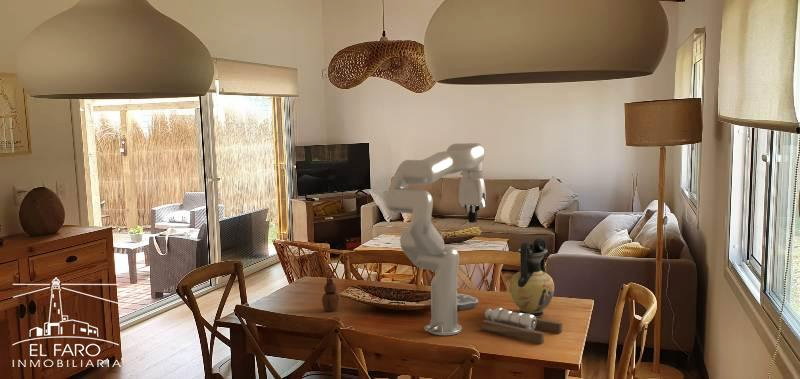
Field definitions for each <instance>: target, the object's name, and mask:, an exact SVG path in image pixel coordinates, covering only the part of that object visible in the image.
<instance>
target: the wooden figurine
mask: <svg viewBox="0 0 800 379" xmlns="http://www.w3.org/2000/svg"><path fill="white" fill-rule="evenodd" d="M323 291H324V292H325V293H324V294H323V295H322V298H321V304H322V307H323V309H324V311H325V312H329V313H330V312H335V311H337V310H338V307H339V304H340V297H339V296H340V295H339V294H338V293H337V292H336V291H337V285H336V284H335V283H334V281H333V279H332V278H331V276H330V275H326V283H325V285H324V288H323Z"/></svg>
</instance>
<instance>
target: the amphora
mask: <svg viewBox="0 0 800 379" xmlns="http://www.w3.org/2000/svg"><path fill="white" fill-rule="evenodd" d="M548 252H549V250H548V249H547V243H546V240H545V239H544V238H543V237H537V238H535V239H534V241H533V242H531V241H524V242H522V243H521V246H520V248H518V249H517V253H519V254H520V255H519V256H520V257H519V258H520V259H519V260H520V271H517V272H516V273H515V274H514V275H513V276H512V277H511V279H510V281H509V290H510V295H511V298H512V300H513V302H514V304H515V305H516V306H517V307H518V308H519V310H520V311H519V312H518V313H529V314H532V315H534V316H535V317H536V318H541V317H543V316H544V310H545V309H547V307H548V306H549V305H550V303H551V302H552V300H553V297H554V294H555V283H554V280H553V278H552V277H551V276H550V275H549V274H548V273H547V272H546V269H545V264H546V254H548Z"/></svg>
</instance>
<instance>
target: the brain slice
mask: <svg viewBox="0 0 800 379" xmlns="http://www.w3.org/2000/svg"><path fill="white" fill-rule="evenodd" d="M479 302H480V301H479V299H478V297H476V296H472V295H470V294H469V295H468V294H464V293H457V311H465V310H472V309H475V308H476V307H477V306H478V304H479Z"/></svg>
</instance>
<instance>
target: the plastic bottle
mask: <svg viewBox="0 0 800 379" xmlns="http://www.w3.org/2000/svg"><path fill="white" fill-rule="evenodd" d="M484 317H485V319H486V320H489V321H493V322H498V323H502V324H507V325H511V326H516V327H520V328H525V329H530V330H534V331H536V330H535V328H536V324H537V320H536V317H535V316H534V315H532V314H529V313H519V312H516V311H511V310H510V309H509V310H508V309H505V308H503V307H497V308H495V309H493V308H486V310H485V311H484Z"/></svg>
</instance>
